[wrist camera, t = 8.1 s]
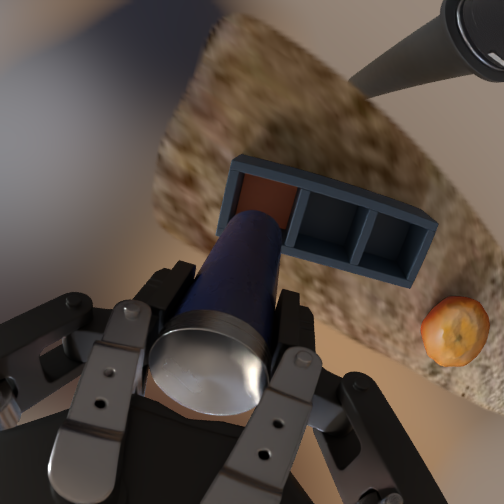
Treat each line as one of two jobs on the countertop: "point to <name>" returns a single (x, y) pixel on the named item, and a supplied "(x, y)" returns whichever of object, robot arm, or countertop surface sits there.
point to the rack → (331, 220)
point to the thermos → (224, 323)
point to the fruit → (455, 331)
